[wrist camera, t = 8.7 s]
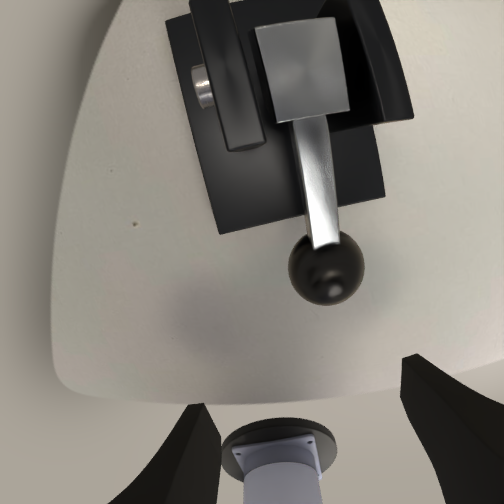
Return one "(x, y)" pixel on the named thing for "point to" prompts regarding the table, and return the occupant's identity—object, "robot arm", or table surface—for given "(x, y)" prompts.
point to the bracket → (259, 119)
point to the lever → (311, 147)
